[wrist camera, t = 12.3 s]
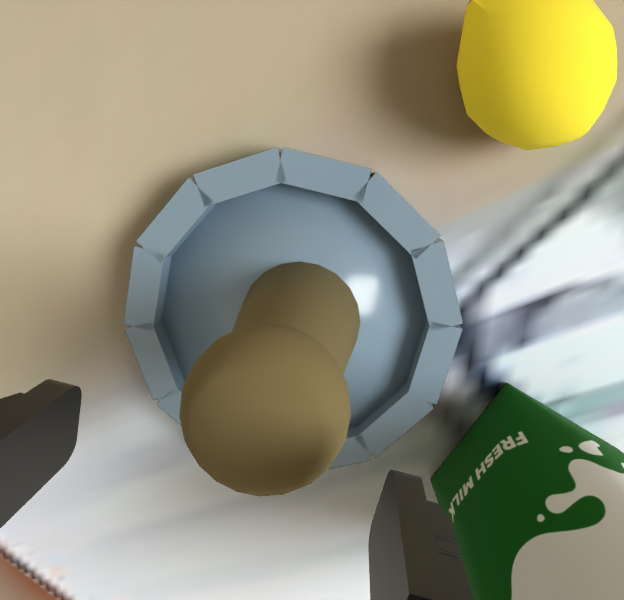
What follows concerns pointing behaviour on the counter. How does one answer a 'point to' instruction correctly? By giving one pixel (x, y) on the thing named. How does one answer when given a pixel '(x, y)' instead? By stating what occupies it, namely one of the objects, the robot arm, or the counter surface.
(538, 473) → the milk carton
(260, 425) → the tan pawn shape
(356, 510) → the counter surface
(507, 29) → the lemon
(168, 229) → the round dish
